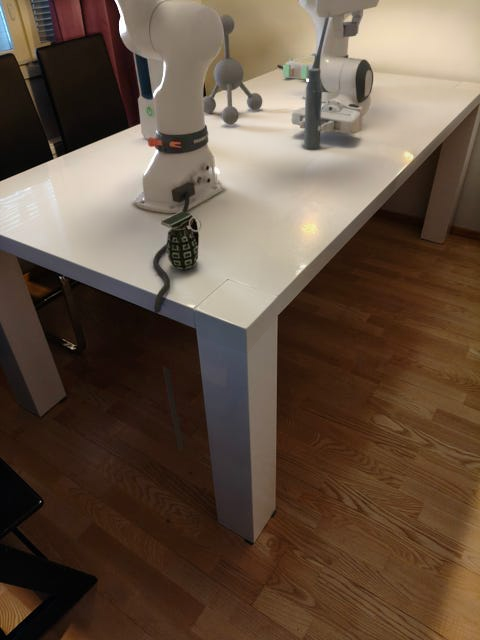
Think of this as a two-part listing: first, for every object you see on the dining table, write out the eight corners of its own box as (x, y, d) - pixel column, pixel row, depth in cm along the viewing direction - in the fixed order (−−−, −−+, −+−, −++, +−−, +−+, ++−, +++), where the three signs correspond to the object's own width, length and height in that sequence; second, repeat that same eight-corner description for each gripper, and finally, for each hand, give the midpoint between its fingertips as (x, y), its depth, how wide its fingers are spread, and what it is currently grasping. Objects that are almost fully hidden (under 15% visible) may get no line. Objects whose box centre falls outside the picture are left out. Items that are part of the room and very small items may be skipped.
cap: (332, 35, 108) (333, 23, 106) (345, 33, 110) (346, 21, 108) (347, 37, 105) (348, 25, 104) (360, 34, 107) (361, 22, 106)
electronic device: (141, 137, 154) (123, 28, 136) (159, 131, 158) (144, 24, 140) (166, 145, 147) (151, 30, 129) (185, 138, 151) (172, 26, 133)
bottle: (322, 147, 139) (326, 69, 126) (308, 150, 138) (311, 72, 125) (314, 143, 142) (317, 66, 130) (301, 146, 141) (303, 69, 129)
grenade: (182, 278, 88) (175, 228, 82) (162, 268, 91) (153, 219, 85) (208, 263, 92) (203, 214, 85) (187, 253, 95) (181, 205, 89)
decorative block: (304, 51, 222) (344, 54, 212) (304, 67, 226) (343, 70, 216) (274, 62, 206) (316, 65, 196) (274, 78, 210) (315, 83, 200)
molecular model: (282, 115, 166) (282, 11, 148) (228, 129, 157) (221, 20, 138) (243, 102, 182) (239, 7, 163) (192, 114, 173) (181, 15, 154)
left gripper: (337, -39, 91) (332, 45, 100) (390, -45, 103) (382, 30, 112) (309, -38, 95) (307, 43, 103) (364, -44, 107) (357, 29, 115)
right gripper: (306, 99, 148) (280, 110, 139) (368, 107, 137) (344, 120, 129) (305, 120, 151) (280, 133, 143) (365, 130, 141) (342, 144, 133)
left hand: (346, 36), depth 108 cm, fingers closed on cap, 4 cm apart
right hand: (310, 127), depth 136 cm, fingers closed on bottle, 4 cm apart
